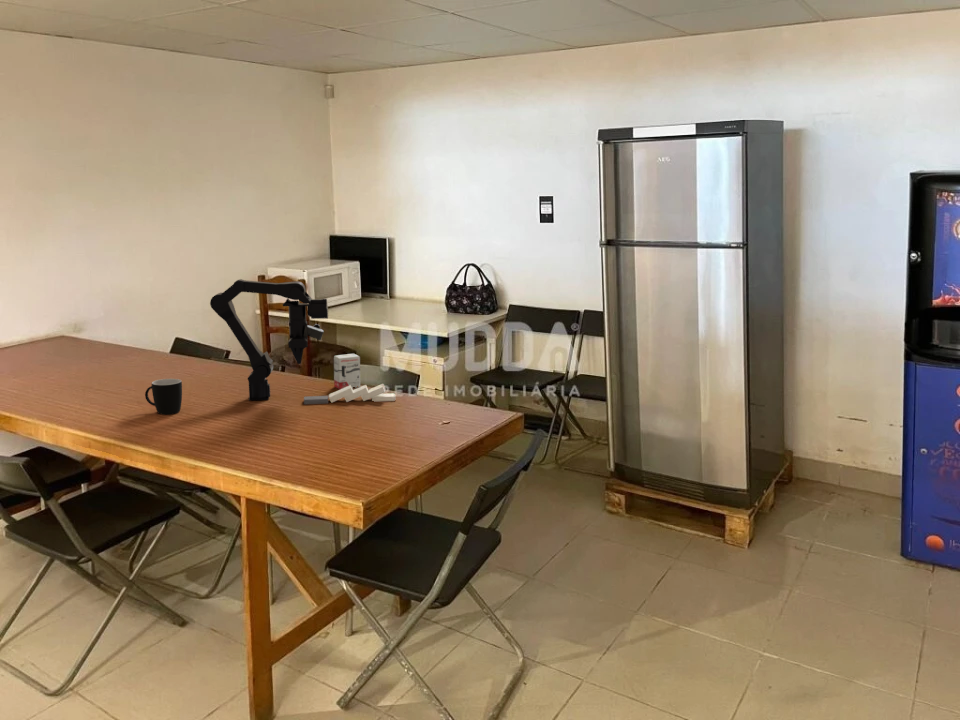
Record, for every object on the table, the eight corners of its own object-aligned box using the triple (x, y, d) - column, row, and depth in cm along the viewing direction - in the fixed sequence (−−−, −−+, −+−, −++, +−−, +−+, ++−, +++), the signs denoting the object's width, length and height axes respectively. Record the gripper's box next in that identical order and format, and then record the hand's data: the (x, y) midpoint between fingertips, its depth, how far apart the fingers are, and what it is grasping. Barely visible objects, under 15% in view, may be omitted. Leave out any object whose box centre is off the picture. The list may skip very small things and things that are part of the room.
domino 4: (360, 396, 265) (382, 387, 265) (362, 392, 269) (383, 383, 269) (363, 401, 265) (384, 392, 265) (364, 397, 270) (385, 388, 269)
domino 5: (372, 397, 266) (395, 396, 267) (371, 394, 270) (394, 393, 271) (372, 402, 266) (395, 402, 267) (371, 399, 270) (394, 398, 272)
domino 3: (344, 397, 264) (365, 387, 264) (344, 393, 268) (365, 384, 269) (346, 402, 265) (368, 392, 265) (346, 398, 269) (368, 389, 269)
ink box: (339, 389, 282) (338, 357, 279) (334, 387, 286) (333, 355, 283) (361, 386, 286) (360, 355, 284) (355, 384, 290) (354, 353, 288)
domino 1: (303, 399, 261) (328, 398, 263) (304, 396, 265) (327, 395, 267) (304, 405, 261) (328, 404, 263) (304, 402, 266) (328, 401, 267)
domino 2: (328, 397, 263) (350, 387, 264) (329, 394, 267) (350, 384, 268) (331, 402, 264) (353, 393, 264) (331, 399, 268) (352, 390, 268)
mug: (188, 409, 254) (186, 379, 252) (175, 416, 245) (172, 385, 243) (154, 407, 255) (151, 377, 253) (139, 415, 247) (136, 384, 244)
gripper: (322, 322, 257) (323, 368, 261) (321, 314, 275) (322, 357, 278) (287, 323, 255) (289, 369, 258) (288, 315, 273) (290, 358, 276)
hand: (299, 363), depth 268 cm, fingers closed
